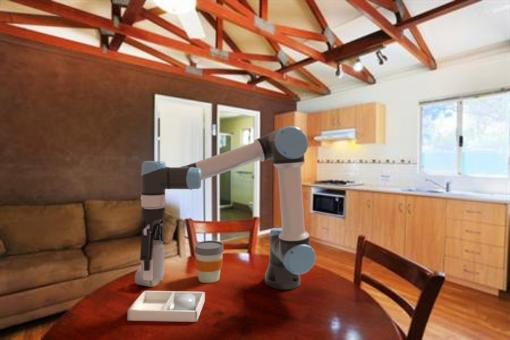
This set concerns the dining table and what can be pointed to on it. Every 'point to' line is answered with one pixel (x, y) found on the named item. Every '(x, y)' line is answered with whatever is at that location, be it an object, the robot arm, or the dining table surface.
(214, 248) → the reusable coffee cup
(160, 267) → the can
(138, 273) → the ceramic mug
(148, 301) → the caddy
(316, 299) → the dining table surface
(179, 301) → the white dome
